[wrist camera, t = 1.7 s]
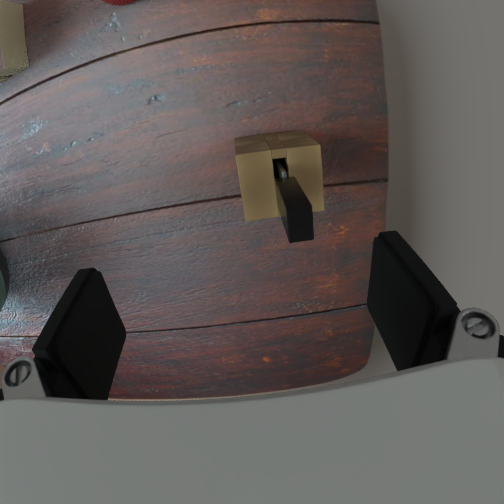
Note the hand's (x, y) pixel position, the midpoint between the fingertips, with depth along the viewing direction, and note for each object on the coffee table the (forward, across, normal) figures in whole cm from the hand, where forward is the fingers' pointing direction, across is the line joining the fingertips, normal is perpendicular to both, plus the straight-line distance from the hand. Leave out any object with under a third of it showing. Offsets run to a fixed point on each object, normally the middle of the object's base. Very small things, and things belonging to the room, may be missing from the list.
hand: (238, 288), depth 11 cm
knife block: (+25, -4, +3) cm, 25 cm away
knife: (+25, -4, +3) cm, 25 cm away
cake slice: (+25, +24, -19) cm, 39 cm away
